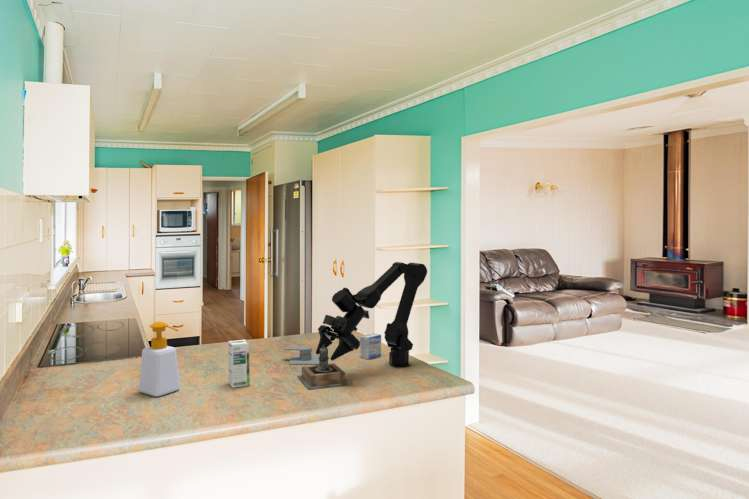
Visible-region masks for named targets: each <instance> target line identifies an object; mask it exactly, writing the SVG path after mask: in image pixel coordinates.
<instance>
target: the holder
mask: <svg viewBox="0 0 749 499" xmlns="http://www.w3.org/2000/svg"><path fill="white" fill-rule="evenodd" d="M328 366H329V367H330V368H332V371H331V373H321V374H316V371H315V369H316V368H317V367H319V365H301V375H297V379H298V380H299V381H300V382H301V383H302V384H303V385H304V387H306V389H307V390H317V389H327V388H335V387H344V386H350V382H348V380H346V372H345V371H344V370H343V369H341V368H340V367H339V366H338V365H337V364H336V363H333V362H331V363H328Z"/></svg>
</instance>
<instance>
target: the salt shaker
mask: <svg viewBox="0 0 749 499" xmlns="http://www.w3.org/2000/svg"><path fill="white" fill-rule="evenodd" d="M319 355H320V357H319V358H318V359H319V367H317V368H316V369H315V371H316V374H321V373H331V371H332V368H330V367H329V366H328V364H329V359H330V357H329V349H328V347H327V348H326V347H324V345H323V347H322V348H320V354H319Z"/></svg>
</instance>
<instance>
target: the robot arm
mask: <svg viewBox="0 0 749 499" xmlns="http://www.w3.org/2000/svg"><path fill="white" fill-rule="evenodd" d="M427 274H428V268H427V266H426V265H425V264H423V263H418V262H408V263H405V262H401V261H395V262H393V263H392V264H391V266H390V267H389V268H388V269H387V270H386V271H385V272H384V273H383V274H382V275H380V277H379V278H378V279H376V280H375V281H374V282H373V283H372V284H370V285H368V286H365V287H363V288H362V289H360V290H359V291H358V292H357V293H356V294H355V293H354V294H353V293H352V292H351V291H350V289H349V288H347V287H343V288H342V289H341V290H338V291H337V292H335V293H334V294H333V295H332V297H331V302H332V303H333V304H334V305H335V306H336V307H337V308H338V310H340V311H341V312H342V313H345V314H344V316H341V315H336V316H335V317H334V316H332V315H329V314H325V315H324V318H323V322H322V324H321V325H320V326H319V327H318V328H317V331H318V334H319V336H320V337H319V342H318V345H317V348H316V351H315V355H320V348H322V347H323V345H324V347H326V348H327V349H328V347H330V346H331V345H332V344H333V341H335V340H336V339H337V340H338V344H337V347H336V348H335V350H334V352H333V353H332V355H331V357H329V359H330V360H331V362H332V361H335V360H337V359H338V358H340V357H342V356H344V355H346V354H348V353H350V352H353V351H354V350H356V351H357V350H358V349H360V339H358V338H357V337H356V336H355V335H354V334H353V332H357V331H358V328H357V326H358V325H359V324H360V322H361V321H362V320H363V318H364V319H368V320H369V319H370V314H369V313H370V312H369V310H366V309H373V308H375V307H376V306H377V305H378V303H379V302H380V301H381V299H382V295H383V294H384V292H385V291H386V290H388V289H389V287H391V286H392V285H393V284H394V283H395V282H396V281H397V280H398V279H399V278H401V276H402V275H403V279H404V286H403V290H402V294H401V297H400V299H399V302H398V306H397V310H396V313H395V316H394V320H393V321H392V322H391V323H389V322H388V323H387V324H386V328H385V330H384V332H383V333H384V339H385V342H386V344H387V347H388V348H390V352H389V356H388V358H389V359H388V360H389V361H388V364H390V365H391V366H393V367H394V368H400V367H401V368H402V367H409V366H411V365H412V364H411V363H410V362H409V360H410V358H409V357H410V351H411V350H412V349H413V346H414V344H413V343H412V341H411V340H410V339H409V338H408V337H409V329H408V328H409V327H408V322H409V318H410V315H411V311H412V308H413V304H414V302H415V298H416V295H417V291H418V288H419V287H420V286H421V285H422V284H423V282H425V279H426V277H427ZM364 308H366V309H364Z"/></svg>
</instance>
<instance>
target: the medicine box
mask: <svg viewBox="0 0 749 499" xmlns="http://www.w3.org/2000/svg"><path fill="white" fill-rule="evenodd" d="M359 337H360V338H359V341H360V346H359V349H360V350H359V357H360V358H361V359H364V358H365V360H368V359H369V360H372V359H375V358H378V357H380V356H382V334H380V333H375V332H374V333H373V332H372V333H370V334H366V335H361V336H359ZM371 358H372V359H371Z"/></svg>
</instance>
